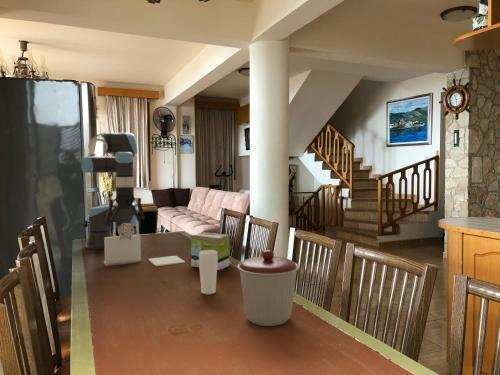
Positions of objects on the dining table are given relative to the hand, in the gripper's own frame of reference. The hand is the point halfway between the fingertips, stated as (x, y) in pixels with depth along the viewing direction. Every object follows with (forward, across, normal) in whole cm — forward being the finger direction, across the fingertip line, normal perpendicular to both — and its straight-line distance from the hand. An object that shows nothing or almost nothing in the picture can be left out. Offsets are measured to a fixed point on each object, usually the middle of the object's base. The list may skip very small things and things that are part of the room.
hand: (125, 235), depth 178 cm
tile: (+14, +19, +2) cm, 24 cm away
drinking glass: (+14, +19, -52) cm, 57 cm away
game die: (+2, 0, 0) cm, 2 cm away
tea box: (+15, +34, -18) cm, 41 cm away
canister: (+13, +25, -84) cm, 88 cm away
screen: (+15, 0, +9) cm, 17 cm away
